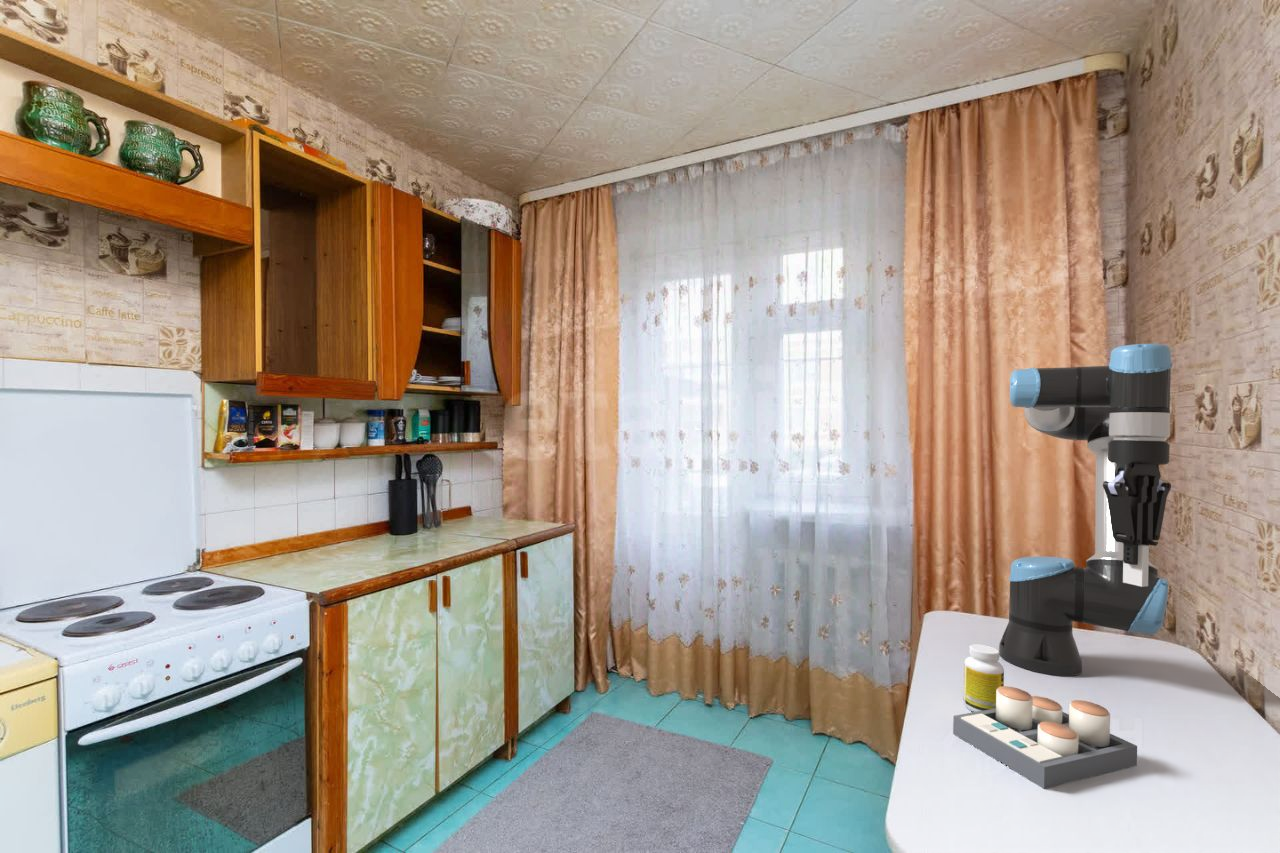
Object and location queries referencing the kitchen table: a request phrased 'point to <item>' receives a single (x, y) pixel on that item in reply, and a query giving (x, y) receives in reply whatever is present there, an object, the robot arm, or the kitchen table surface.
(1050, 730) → the button
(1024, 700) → the button
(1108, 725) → the button
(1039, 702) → the button
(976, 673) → the pill bottle
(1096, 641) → the kitchen table surface
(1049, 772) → the board
